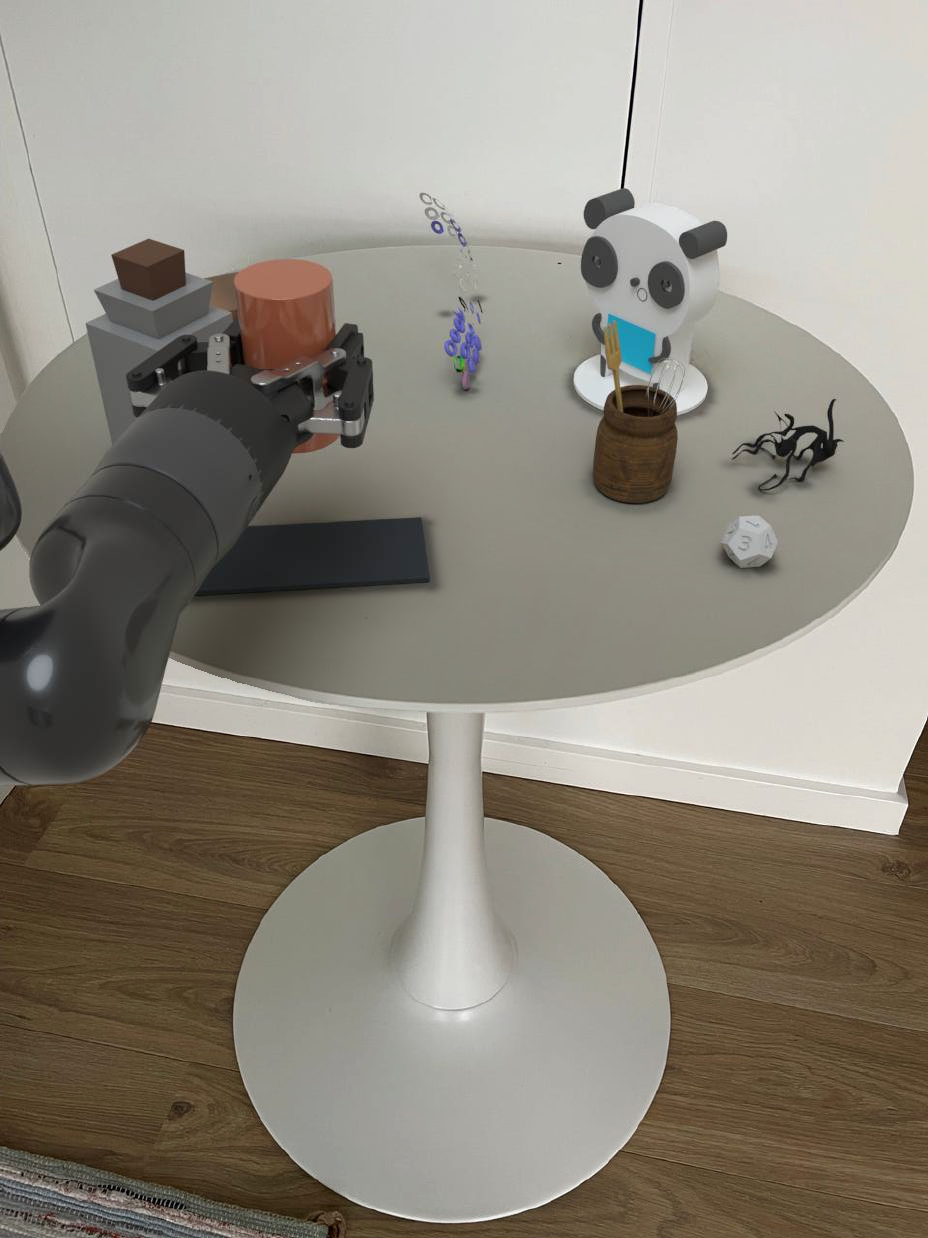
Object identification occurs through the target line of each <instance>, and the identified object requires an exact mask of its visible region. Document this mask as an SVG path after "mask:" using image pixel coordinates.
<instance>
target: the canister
mask: <svg viewBox="0 0 928 1238" xmlns="http://www.w3.org/2000/svg"><path fill="white" fill-rule="evenodd" d="M238 272H239V271H238ZM234 287H235V295H236V303H237V311H238V319H239V327H240V335H241V343H242V351H243V359H244V365H247V366H251V367H255V368H258V369H276V368H278V367H280V366H282V365H284V364H286V363H288V362H289V361H291V360H293V359H295V358H297V357H299V356H305V357H308V358H310V359H312V358H313V357H315V356H317V355H319V354H321V353H323V352H325V351H327V346H328V345H329V344H330V342H331V341H332V340H333V339H334V337H335V336H336V334H337V327H336V324H337V323H336V311H335V296H334V281H333V273H332V272H331V271H330V270H329V269H328V268H327V267H325V266H324V265H322V264H319V263H317V262H315V261H311V260H305V259H296V258H277V259H270V260H264V261H260V262H257V263H253V264H251V265H248V266H246V267H245V268H243V269H241V270H240V272H239V273H238V274H237V275H236V277H235V279H234ZM322 381H323V384H324V383H326V382H327V375H326V373H325V374H324V375H323V378H322ZM298 383H299V381H298ZM332 402H333V401H332ZM330 403H331V402H330ZM328 404H329V403H328ZM328 404H327V405H328ZM327 405H326V407H327ZM339 438H340V434H321V433H314V435H313V436H312V438H311V439H310V440H308V441H307V442H305V443H303V444H301V445H299V446H297V447H296V448H295V449H294V450H293V452H292V455H293V454H306V453H311V452H316V451H319V450H323V449H325V448H327V447H328V446H331V445H332V444H333V443H335V442H336V441H337V440H338V439H339Z"/></svg>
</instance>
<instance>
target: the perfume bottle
mask: <svg viewBox="0 0 928 1238" xmlns="http://www.w3.org/2000/svg"><path fill="white" fill-rule="evenodd" d="M185 254H186V253H185V249H183V248H179V247H176V246H174V245H170V244H167V243H164V242H162V241H157V240H155V239H151V238H147V239H144V240H142V241H139V242H137V243H135V244H133V245H130V246H128V247H126V248H124V249H121V250H118V251H116V252H114V253H112V254H110V256H111V259H112V262H113V265H114V268H115V272H116V276H117V278H116V279H114V280H112V281H110V282H107V283H105V284H102V285H101V286H99V287H96V288H93V292H94V294H95V296H96V297H97V299H98V301H99V303H100V305H101V307H102V309H103V310H104V312H105V313H104V314H102V315H100V316H98V317H95V318H93V319H91V320H88V321H87V322H85V327H86V331H87V337H88V341H89V347H90V350H91V354H92V359H93V363H94V369H95V373H96V377H97V382H98V386H99V391H100V395H101V399H102V405H103V409H104V412H105V419H106V422H107V427H108V431H109V436H110V441H111V446H112V445H113V444H114V443H115V442H116V441H117V439H118V438H119V437H120V436H121V435H122V434H123V433H124V432H125V431H126V430H127V429H128V428H129V427H130V425H131V424H132V423H133V422H134V421H135V420H136V419H137V417H135V416H134V414H133V409H132V404H131V401H130V396H129V391H128V384H127V379H126V374H127V373H128V372H129V371H131V370H132V369H134V368H135V367H136V366H138V365H139V364H141V363H142V362H143V361H145V360H146V359H148V358H149V357H150V356H152V355H153V354H155V353H156V352H158V351H159V350H160V349H162V348H163V347H165V346H166V345H167V344H169V343H170V342H172V341H173V340H175V339H176V338H177V337H179V336H182V335H194V336H196V338H197V342H209V337H210V336H212V335H214V334H222V333H223V332H224V331H225V330H226V328H227V327H228V326H229V325H230V324H231V323H232V322H233V318H232V313H231V312H228V311H226V310H223V309H220V308H217V307H214V306H211V305H209V304H210V298H211V291H212V285H213V282H212V281H209V280H206V279H203V277H200V276H197V275H195V274H191V273H188V272H186V259H185V258H186V256H185ZM180 369H181V365H180V361H179V363H178V370H180Z"/></svg>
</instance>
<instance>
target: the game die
mask: <svg viewBox="0 0 928 1238" xmlns="http://www.w3.org/2000/svg"><path fill="white" fill-rule="evenodd" d="M778 542H779V540H778V538H777V536H776V533H775V532H774V530H773V528H772V525H770V524H769V523H768V522H767V521H765V519H763V517H761V516H760V515H743V516H738V517H737V518H736V519H735V520H734V521H732V522H731V523H730V524H728V526H727V528H726V529H725V532H724V535H723V537H722V540H721V542H720V543H721V546H722V547H723V549H724V551H725V552H726V555H727V557H728V558H729V559H730V560H731V561H732V562H733V563H734V564H735V565H737V566H738V567H739V569H748V568H760V567H761V566H763V565H765V564H766V563H767V562H768V561H769V560H771V559H772V557H773V554H774V553H775V550H776V547H777V545H778Z"/></svg>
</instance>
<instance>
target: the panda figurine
mask: <svg viewBox="0 0 928 1238" xmlns="http://www.w3.org/2000/svg"><path fill="white" fill-rule="evenodd" d="M635 203H636V202H635V197H634V195H633V193H632V191H631V190H630V189H629V188H625V187H623V188H619V189H617V190H613V191H610V192H608V193H605V194H602V195H599V196H596V197H593V198H590V199H589V200H588V201H587V202H586V204H585V206H584V209H583V221H584V223H585V225H586V227H587V228H589V229H590V230H593V233H592V234H591V236H590V237H589V238H588V239H587V241H586V242H585V245H584V247H583V250H582V253H581V258H580V273H581V276H582V278H583V280H584V281H585V285H586V287H587V290H588V293H589V295H590V297H591V300H592V302H593V304H594V305H595V307H596V308H597V310H598V313H596V314H595V315H594V316H593V318H592V320H591V328H592V331H593V334H594V336H595V337H596V339H597V340H598V341H599V343H600V353H599V354H597V355H594V356H592V357H589V358H588V359H586V360H584V361H583V362H582V363H580V365H578V366H577V368H576V369H575V371H574V374H573V387H574V389H575V391H576V393H577V395H579V397H580V398H581V399H582V400H584V401H585V402H586V403H588V404H589V405H591V406H593V407H594V408H596V409H598V410H600V411H604V405H605V402H606V399H607V396H608V395H609V394H610V393H611V392H612V391H613V390H615V384H614V376H613V371H612V370H610V369H608V367H607V360H606V350H605V340H604V330H603V329H604V327H605V326H606V327H607V331H608V337H609V330H608V324H609V323H611V324H612V330H613V321H614V320H615V321H616V323H617V330H618V337H619V344H620V350H621V358H622V361H621V364H620V366H619V368H618V373H619V381H620V387H623V386H629V385H645V386H648V385H649V386H651V387H655V388H657V385H659V387H658V389H661V390H663V391H665V392H667V391H668V389H669V387H670V389H669V391H668V394H669V393H670V395H671V396H672V397H673V398H674V397H675V396H676V397H675V398H674V400H676V405H677V417H678V416H682V415H684V414H687V413H690V412H692V411H694V410H695V409H697V408H698V407H700V406H701V405H702V403H703V402H704V401H705V400H706V398H707V395H708V388H709V386H708V381H707V379H706V377H705V375H704V374H703V372H701V371H700V370H699V369H698V368H697V367H695V366H694V365H693V364H690V356H691V349H692V343H693V338H694V337H693V336H694V330H695V325H696V324H697V323H698V322H700V321H702V320H703V319H704V318H706V317H707V315H709V313H710V312H711V311H712V309H713V308H714V305H715V303H716V301H717V297H718V295H719V290H720V281H721V277H720V260H719V254H718V253H719V252H718V250H719V249H721V248H724V247H725V246H726V245H727V242H728V229H727V227H726V226H725V224H724V223H723V222H721V221H719V220H711V221H709V222H706V223H704V224H703V223H702V221H700V220H699V219H697V217H695V216H693V215H691V214H690V213H688V212H685V211H684V210H681V209H680V208H677V207H675V206H672V205H669V204H663V203H657V202H656V203H655V202H648V203H643V204H641V205H638V206H635V205H636V204H635ZM613 337H614V332H613ZM609 344H610V341H609ZM614 344H615V342H614ZM669 357H672V358H673V359H672V358H669ZM663 358H669V359H668V360H670V359H672V360H675V359H676V362H677V361H679V362H677V363H678V364H679V365H680V366H681V368H682V370H681V368H680V366H679V365H678V367H677V363H676V362H675V366H674V361H673V362H672V361H668V360H667V359H663ZM661 359H662V360H661ZM677 359H678V360H677ZM659 360H661V361H659ZM666 360H667V362H666V364H665V361H666ZM658 361H659V362H658ZM657 362H658V363H657ZM663 362H664V363H663ZM671 362H672V363H671ZM680 362H681V363H682V364H683V365H684V367H683V365H682V364H681V363H680ZM656 363H657V365H656ZM661 363H662V364H661ZM670 363H671V364H670ZM660 364H661V365H660ZM664 364H665V366H664ZM669 364H670V365H669ZM655 365H656V367H655ZM658 365H659V366H658ZM668 365H669V366H668ZM657 366H658V367H657ZM654 367H655V369H656V370H655V369H654ZM663 367H664V369H663ZM667 367H668V368H667ZM666 368H667V369H666ZM676 368H677V370H676ZM684 368H685V374H684ZM653 370H655V371H654V374H653V376H652V379H651V381H650V378H651V375H652V372H653ZM662 370H663V372H662ZM665 370H666V371H665ZM664 371H665V373H664ZM675 371H676V373H675ZM682 371H683V374H682ZM661 373H662V374H661ZM663 373H664V375H663ZM674 373H675V378H673V377H674ZM660 375H661V377H662V375H663V377H662V379H661V377H660ZM683 376H684V378H683ZM659 378H660V380H661V382H660V381H659ZM672 379H673V380H674V382H673V381H672ZM682 379H683V383H682V386H681V389H679V388H680V385H681V382H682ZM649 381H650V384H649ZM658 382H660V384H658ZM671 382H672V383H673V386H672V384H671ZM670 385H671V386H670ZM671 387H672V389H671ZM670 390H671V392H670ZM678 390H680V392H678ZM677 392H678V393H679V395H678V393H677ZM676 394H677V395H678V397H677V395H676ZM676 398H677V399H676Z"/></svg>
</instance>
